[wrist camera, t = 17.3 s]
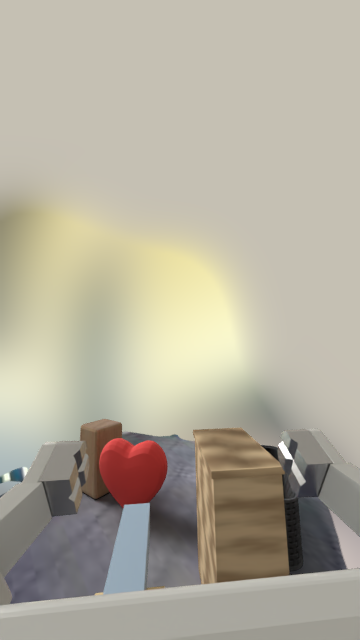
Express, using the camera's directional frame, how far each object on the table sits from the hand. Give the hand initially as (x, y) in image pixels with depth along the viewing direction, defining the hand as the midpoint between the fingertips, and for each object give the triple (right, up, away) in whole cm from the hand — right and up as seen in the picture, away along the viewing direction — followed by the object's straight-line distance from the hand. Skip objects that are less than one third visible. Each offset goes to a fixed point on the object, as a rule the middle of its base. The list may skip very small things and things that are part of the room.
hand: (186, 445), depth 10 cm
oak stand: (+9, -43, +29) cm, 53 cm away
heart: (-13, -47, +54) cm, 73 cm away
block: (-26, -49, +67) cm, 87 cm away
